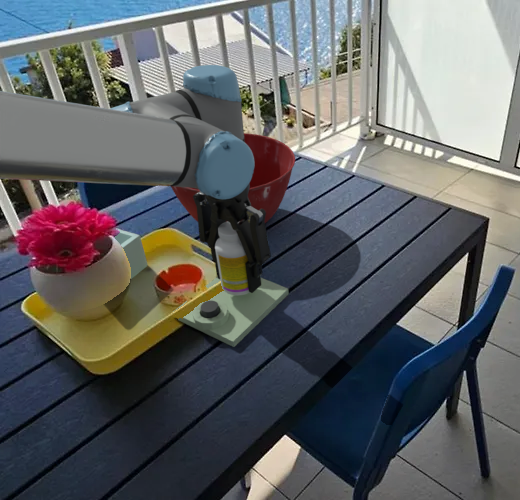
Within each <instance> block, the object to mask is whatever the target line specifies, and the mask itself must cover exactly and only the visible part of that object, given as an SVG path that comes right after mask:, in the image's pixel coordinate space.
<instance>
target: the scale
mask: <svg viewBox="0 0 520 500" xmlns="http://www.w3.org/2000/svg"><path fill="white" fill-rule="evenodd" d="M219 281H221V280H220V279H218V278H217V276H216V277H215V278H214V279H213V280H211V281H209V283H207V284H206V285H205V286H206V287H207V288H209V287H211V286H213V285H214V284H216V283H218V282H219ZM289 293H290V291H289V288H288V287H285V286H283V285H281V284H278V283H276V282H273V281H271V280H268V279H265V278H263V277H261V286H260V287H259V288H257V289H256V290H255V291H254V292H253V293H251V292H249V293H247V294H244V295H230V294H228V293H226V292H225V291H222V292H220V293H219V294H217V295H216V296H214V297H213V298H211V299H210V300H208V301H216V302H217V303H218V306H219V314H218V315H217V316H216V317H213V318H204V317H203V316H202V313H201V305H202V304H203V303H204V302H202V303H200V304H199V305H198V306H197V307H195V308H194V310H193V311H191V312H190V313H189V314H187V315H186V316H184V317H183V319H182V318H179V319H178V320H177V321H179V322H181V323H183V324H186V325H187V326H189V327H191V328H193V329H195V330H198V331H200V332H201V333H204V334H206V335H208V336H210V337H212V338H214V339H217V340H218V341H220V342H222V343H224V344H226V345H228V346H231V347H232V348H235V347H236V346H237V345H238V344H239V343H241V341H242V340H243V339H244V338H246V337H247V335H249V334H250V332H252V330H253V329H255V328H256V327H257V326H258V325H259V324H260V323H261V322H262V320H264V319H265V318H266V317H267V316H268V315H269V314H270V313H271V312H272V311H273V310H274V309H276V307H277V306H278V305H279V304H280V303H281V302H282V301H283V300H284V299H285V298H286V297H288V295H289ZM186 302H187V300H186V301H184V303H182V304H181V305H180V306H178V307H177V308H175V310H177V309H178V308H180V307H181V306H183V305H184V304H185V303H186ZM205 302H206V301H205ZM175 310H173V311H172V312H174V311H175Z"/></svg>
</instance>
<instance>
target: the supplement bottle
mask: <svg viewBox="0 0 520 500" xmlns="http://www.w3.org/2000/svg"><path fill="white" fill-rule="evenodd" d="M238 223H239V222H238ZM218 233H219V238H218V239H217V241H216V243H215V251H216V256H217V262H218V268H219V274H220V280H221V286H222V289H223V290H224V291H225V292H226V293H228V294H230V295H244V294H247V293H249V289H248V281H247V273H246V265H245V263H246V262H247V261H248V258H247V256H246V254H245V251H244V249H243V246H242V244H241V242H240V239H239V237H238V234H237V232H236V230H233V229H232V226H231V224H230V222H228V221H227V222H224V223H222V224H221V225H220V226H219V228H218Z"/></svg>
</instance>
